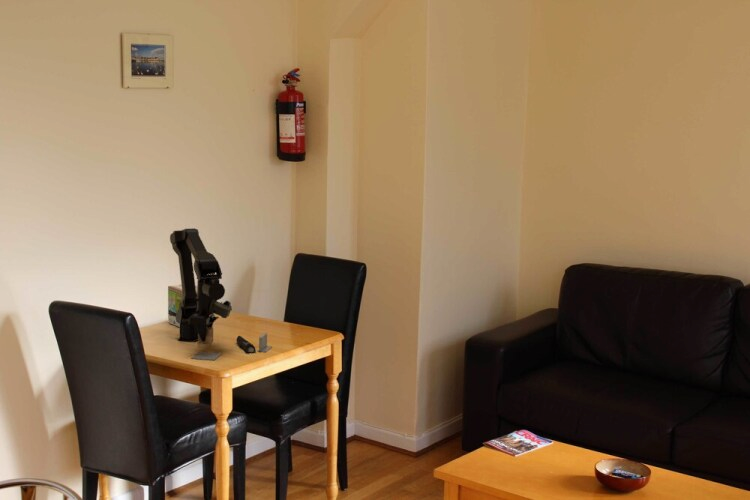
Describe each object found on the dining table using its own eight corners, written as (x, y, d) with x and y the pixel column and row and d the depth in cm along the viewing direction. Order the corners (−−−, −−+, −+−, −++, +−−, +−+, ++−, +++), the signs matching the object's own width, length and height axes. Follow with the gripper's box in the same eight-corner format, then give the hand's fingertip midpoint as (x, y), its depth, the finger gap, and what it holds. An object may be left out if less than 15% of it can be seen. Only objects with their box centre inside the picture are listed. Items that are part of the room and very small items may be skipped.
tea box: (166, 323, 352) (167, 285, 350) (190, 320, 359) (190, 282, 357) (187, 331, 341) (188, 291, 339) (211, 327, 348) (211, 289, 346)
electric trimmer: (244, 343, 328) (244, 334, 328) (256, 353, 314) (256, 344, 314) (234, 344, 327) (234, 335, 326) (245, 354, 313) (245, 345, 312)
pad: (190, 358, 304) (190, 357, 304) (198, 352, 312) (198, 351, 312) (214, 360, 303) (214, 359, 303) (221, 354, 311) (221, 353, 311)
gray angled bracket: (257, 351, 316) (258, 337, 315) (263, 346, 323) (263, 332, 322) (266, 352, 315) (266, 338, 315) (271, 347, 322) (271, 333, 321)
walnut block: (197, 343, 313) (198, 329, 313) (201, 341, 317) (201, 326, 317) (209, 344, 313) (209, 330, 312) (213, 341, 317) (213, 327, 316)
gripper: (221, 301, 302) (220, 348, 305) (237, 290, 321) (236, 335, 323) (187, 299, 304) (187, 345, 306) (205, 288, 322) (205, 332, 324)
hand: (205, 339), depth 315 cm, fingers closed on walnut block, 4 cm apart
